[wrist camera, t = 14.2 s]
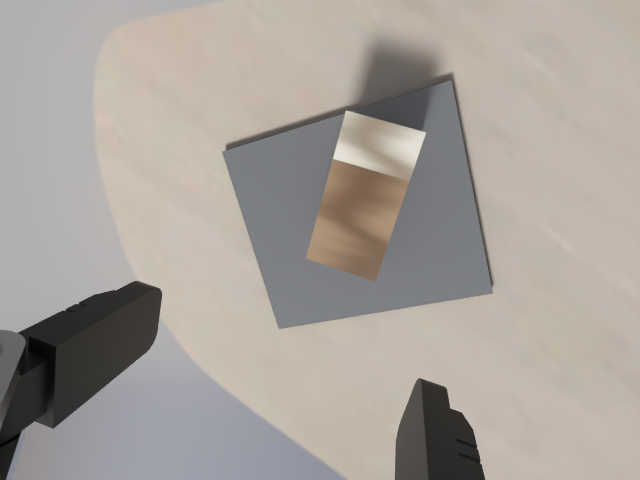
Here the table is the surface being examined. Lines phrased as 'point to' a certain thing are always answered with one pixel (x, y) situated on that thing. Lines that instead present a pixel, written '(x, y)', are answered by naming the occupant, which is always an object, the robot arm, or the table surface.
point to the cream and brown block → (363, 194)
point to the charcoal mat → (408, 233)
